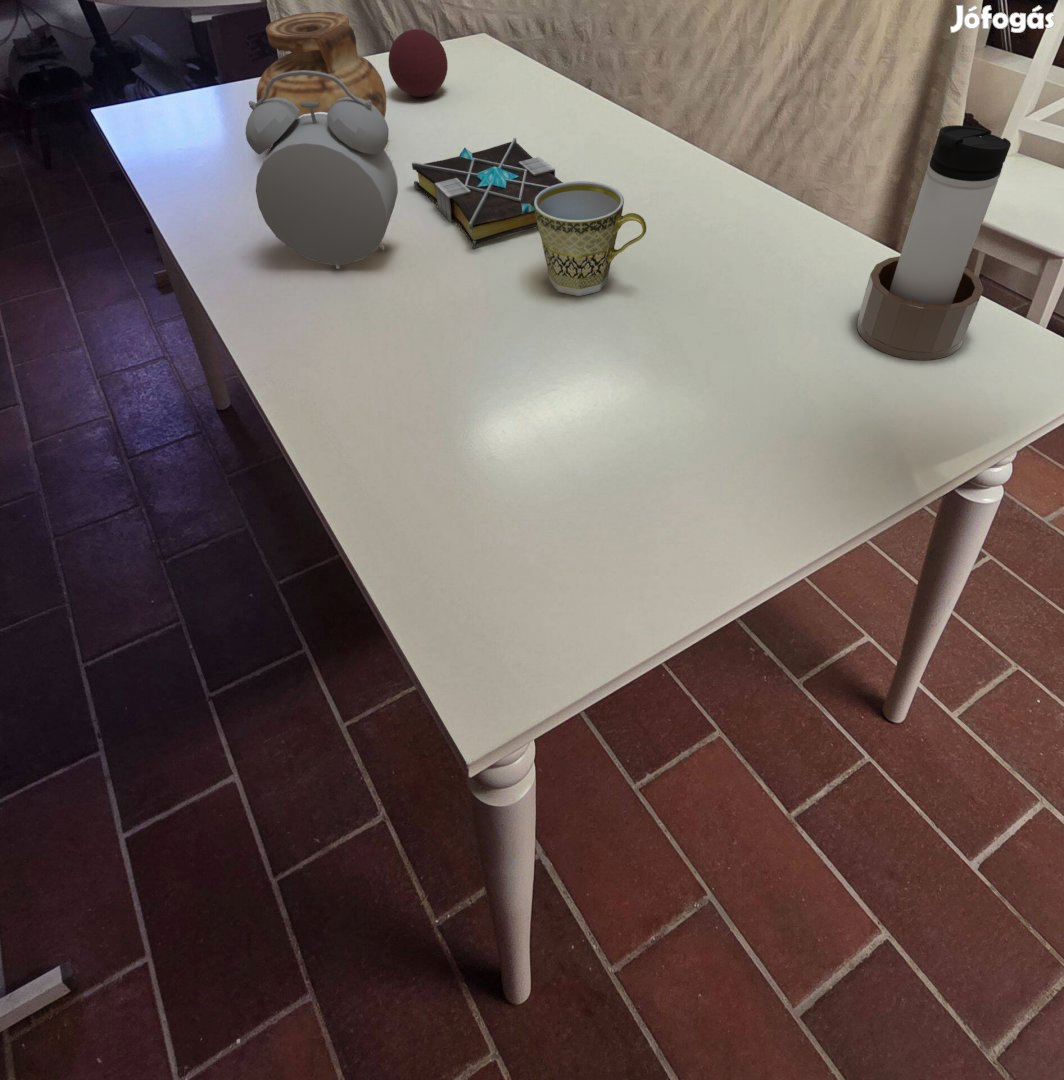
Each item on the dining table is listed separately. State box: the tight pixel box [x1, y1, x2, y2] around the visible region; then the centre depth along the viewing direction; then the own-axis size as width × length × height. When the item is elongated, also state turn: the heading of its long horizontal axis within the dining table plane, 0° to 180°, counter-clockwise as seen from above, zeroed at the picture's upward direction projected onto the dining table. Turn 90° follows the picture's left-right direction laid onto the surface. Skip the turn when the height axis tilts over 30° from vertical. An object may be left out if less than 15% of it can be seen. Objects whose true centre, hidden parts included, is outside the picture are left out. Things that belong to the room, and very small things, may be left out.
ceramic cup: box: [534, 180, 647, 297], centre depth 95 cm, size 13×10×10 cm
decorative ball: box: [388, 28, 449, 98], centre depth 140 cm, size 10×10×10 cm
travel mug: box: [889, 124, 1012, 305], centre depth 81 cm, size 6×7×20 cm
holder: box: [856, 255, 985, 361], centre depth 87 cm, size 11×11×6 cm
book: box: [411, 137, 564, 249], centre depth 112 cm, size 22×17×5 cm
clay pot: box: [256, 11, 387, 120], centre depth 123 cm, size 19×19×20 cm
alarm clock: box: [245, 70, 399, 270], centre depth 97 cm, size 16×9×22 cm, turn 85°
